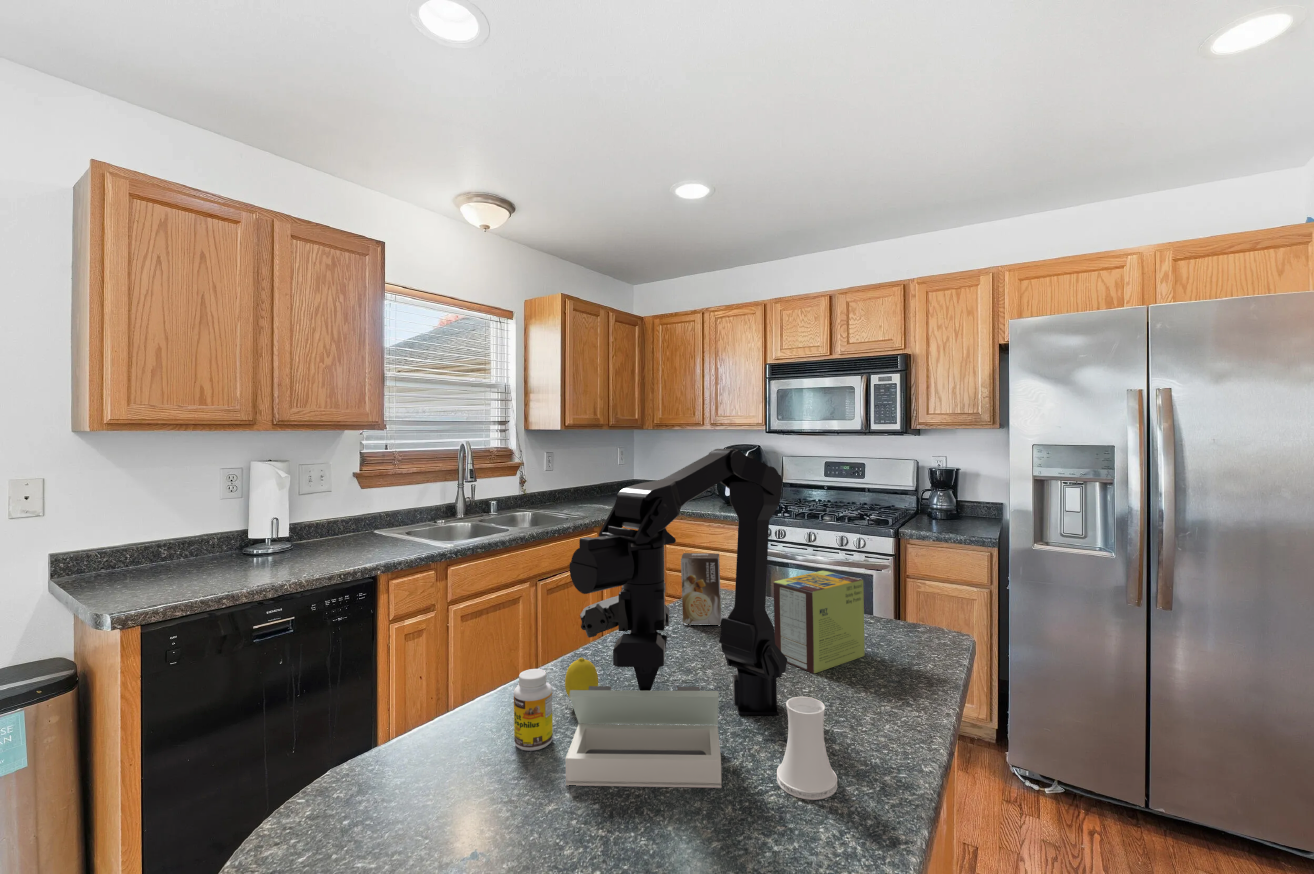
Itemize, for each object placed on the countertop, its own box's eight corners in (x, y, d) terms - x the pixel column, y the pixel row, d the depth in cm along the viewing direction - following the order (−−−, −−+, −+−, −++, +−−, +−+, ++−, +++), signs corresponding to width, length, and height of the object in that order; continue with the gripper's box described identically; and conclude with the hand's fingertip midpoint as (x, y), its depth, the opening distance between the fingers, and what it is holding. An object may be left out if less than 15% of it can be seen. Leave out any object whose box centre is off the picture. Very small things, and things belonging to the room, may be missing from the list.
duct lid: (717, 724, 84) (717, 714, 85) (718, 696, 78) (718, 686, 79) (578, 723, 85) (579, 713, 86) (569, 695, 79) (570, 685, 80)
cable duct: (718, 749, 84) (717, 725, 84) (721, 787, 75) (721, 760, 75) (579, 748, 85) (578, 724, 85) (566, 785, 76) (565, 758, 76)
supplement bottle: (507, 749, 85) (505, 679, 85) (526, 731, 91) (525, 664, 91) (541, 755, 84) (540, 683, 84) (559, 735, 89) (558, 668, 89)
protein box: (866, 656, 118) (864, 578, 118) (814, 674, 110) (812, 591, 110) (824, 641, 127) (823, 569, 127) (773, 657, 118) (771, 580, 118)
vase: (827, 807, 71) (826, 724, 71) (768, 788, 75) (766, 709, 75) (844, 776, 77) (842, 699, 77) (788, 760, 81) (787, 687, 81)
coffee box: (722, 618, 144) (720, 552, 144) (720, 627, 138) (719, 558, 138) (684, 617, 146) (683, 552, 145) (681, 625, 139) (680, 557, 139)
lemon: (593, 714, 96) (592, 665, 96) (560, 711, 97) (559, 663, 97) (602, 699, 101) (602, 652, 101) (572, 697, 102) (571, 651, 102)
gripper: (595, 564, 90) (597, 667, 90) (571, 598, 71) (572, 727, 71) (668, 565, 89) (670, 668, 89) (662, 598, 71) (664, 728, 71)
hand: (644, 694), depth 80 cm, fingers closed, pressing on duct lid
